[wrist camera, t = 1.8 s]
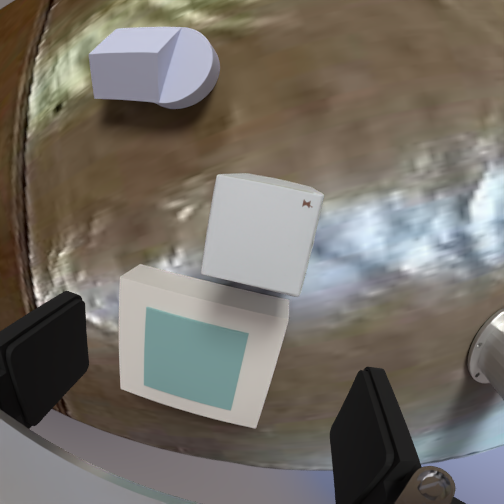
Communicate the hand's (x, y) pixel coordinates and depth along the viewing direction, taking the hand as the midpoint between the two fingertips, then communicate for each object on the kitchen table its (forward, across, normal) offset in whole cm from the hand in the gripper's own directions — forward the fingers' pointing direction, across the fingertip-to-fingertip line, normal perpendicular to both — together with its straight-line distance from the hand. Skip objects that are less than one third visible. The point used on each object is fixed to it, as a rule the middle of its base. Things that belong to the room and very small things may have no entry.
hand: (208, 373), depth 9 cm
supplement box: (+25, 0, -2) cm, 25 cm away
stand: (+25, +5, +15) cm, 29 cm away
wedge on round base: (+25, +15, -16) cm, 33 cm away
